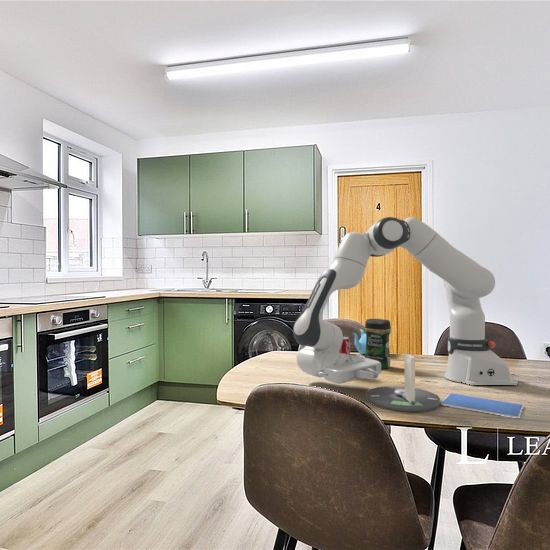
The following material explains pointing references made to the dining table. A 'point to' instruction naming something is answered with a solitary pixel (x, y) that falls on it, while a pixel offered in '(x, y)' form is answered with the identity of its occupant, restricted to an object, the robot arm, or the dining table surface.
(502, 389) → the dining table surface
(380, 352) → the coffee jar
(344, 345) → the soda can
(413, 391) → the white l-shaped block
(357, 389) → the dining table surface
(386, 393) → the grey disc base
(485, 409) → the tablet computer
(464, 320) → the robot arm
